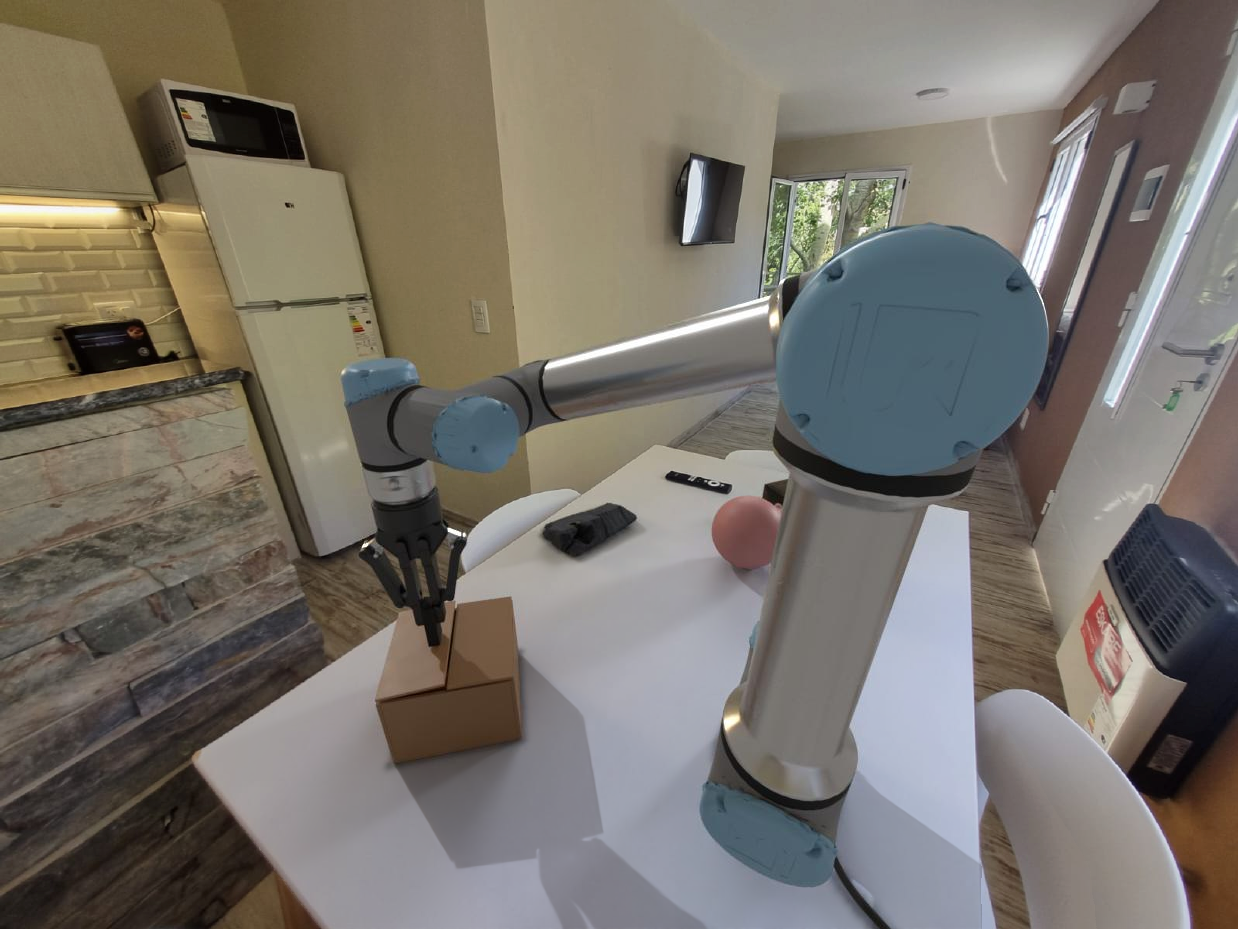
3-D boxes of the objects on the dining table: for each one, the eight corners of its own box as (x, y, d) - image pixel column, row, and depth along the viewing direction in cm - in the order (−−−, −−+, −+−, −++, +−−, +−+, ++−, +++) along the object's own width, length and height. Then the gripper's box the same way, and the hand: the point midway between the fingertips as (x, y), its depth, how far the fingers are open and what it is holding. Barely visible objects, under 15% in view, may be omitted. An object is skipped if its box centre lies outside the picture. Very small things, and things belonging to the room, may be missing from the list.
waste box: (521, 738, 68) (513, 676, 62) (393, 764, 64) (373, 700, 59) (518, 652, 82) (511, 595, 77) (413, 669, 79) (398, 611, 73)
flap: (444, 686, 61) (443, 684, 61) (375, 702, 59) (374, 700, 59) (455, 602, 75) (455, 600, 75) (399, 613, 73) (399, 611, 73)
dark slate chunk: (646, 528, 117) (647, 511, 115) (571, 562, 105) (570, 543, 103) (608, 503, 128) (608, 487, 126) (536, 531, 116) (534, 514, 114)
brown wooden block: (836, 503, 128) (840, 481, 125) (779, 518, 121) (783, 496, 118) (814, 490, 135) (818, 469, 132) (759, 504, 128) (762, 482, 125)
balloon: (812, 566, 103) (826, 505, 97) (737, 592, 96) (746, 527, 89) (765, 530, 116) (774, 474, 110) (695, 550, 109) (700, 491, 102)
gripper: (334, 513, 52) (379, 668, 63) (458, 500, 55) (482, 651, 65) (353, 482, 59) (391, 626, 69) (463, 472, 62) (484, 613, 72)
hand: (435, 638), depth 67 cm, fingers closed
